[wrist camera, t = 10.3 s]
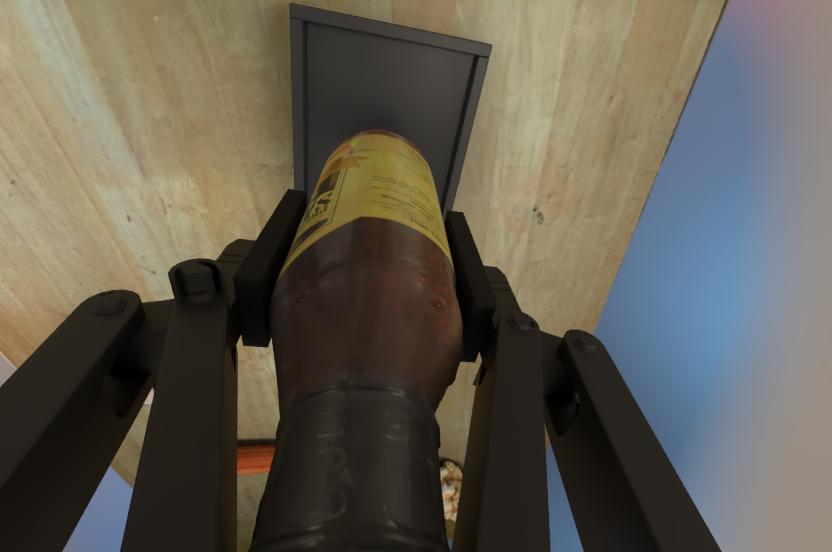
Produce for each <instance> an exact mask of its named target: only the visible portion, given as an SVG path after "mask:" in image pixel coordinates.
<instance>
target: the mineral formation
mask: <svg viewBox="0 0 832 552" xmlns="http://www.w3.org/2000/svg"><path fill="white" fill-rule="evenodd" d="M440 475H441V488H442V496H443V504H444V515H445V519H451V520H454V521H455V522H456V516H457V509H458V503H459V496H460V489H461V483H462V476H463V474H462V473H461V470H460V469H459V467H458V466H455V465H454V464H453V462H451V461H445V462H444V466H443V467H440Z"/></svg>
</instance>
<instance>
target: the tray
mask: <svg viewBox="0 0 832 552" xmlns="http://www.w3.org/2000/svg"><path fill="white" fill-rule="evenodd" d="M290 17H291V18H290V40H291V78H292V116H293V154H294V190H300V191H306V209H307V207H308V204H309V202H310V199H311V196H312V195H313V193H314V190H315V188H316V185H317V183H318V180H319V178H320V176H321V173H322V171H323V168H324V166H325V164H326V162H327V160H328V159H329V157H330V155H331V154H332V153H333V152H334V151H335V150H336V149H337V148H338V147H339V146H340V144H341V143H342V142H343V141H344V140H345V139H347V138H350V137H352V136H354V135H356V134H358V133H360V132H362V131H366V130H371V129H382V130H386V131H390V132H393V133H396V134H398V135H400V136H402V137H404V138H405V139H407V140H408V141H410V142H412V143H413V144H414V145H415V146H416V147H417V148H418V149H419V150H420V152H421V155H422V156H423V158H424V159H425V161H426V162H427V164H428V166H429V168H430V171H431V173H432V177H433V180H434V184H435V189H436V193H437V197H438V201H439V205H440V210H441V214H442V219H443V223H444V222H445V217H446V213H447V210H448V211H452V208H453V204H454V199H455V195H456V191H457V187H458V183H459V179H460V175H461V171H462V167H463V163H464V159H465V155H466V151H467V146H468V142H469V138H470V134H471V130H472V126H473V122H474V118H475V114H476V110H477V106H478V102H479V98H480V94H481V89H482V85H483V81H484V77H485V73H486V69H487V65H488V61H489V57H490V53H491V49H492V44H487V43H483V42H478V41H473V40H468V39H463V38H459V37H454V36H449V35H444V34H439V33H434V32H430V31H425V30H420V29H415V28H410V27H406V26H401V25H396V24H391V23H386V22H381V21H377V20H372V19H367V18H362V17H357V16H353V15H348V14H343V13H338V12H333V11H328V10H324V9H319V8H314V7H309V6H304V5H300V4H295V3H290Z"/></svg>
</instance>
